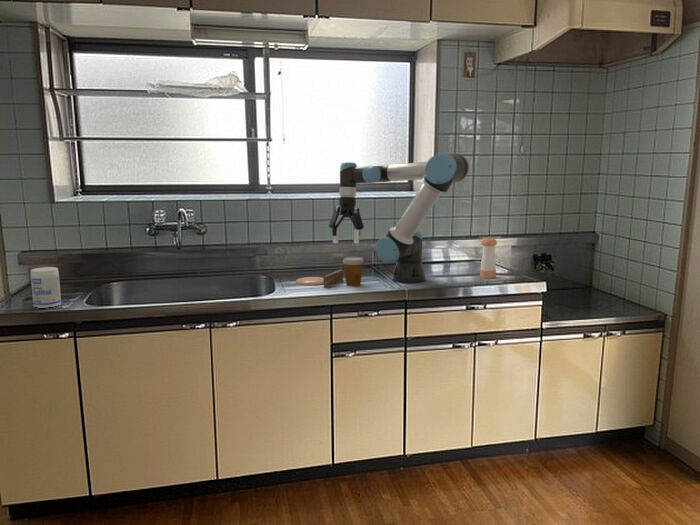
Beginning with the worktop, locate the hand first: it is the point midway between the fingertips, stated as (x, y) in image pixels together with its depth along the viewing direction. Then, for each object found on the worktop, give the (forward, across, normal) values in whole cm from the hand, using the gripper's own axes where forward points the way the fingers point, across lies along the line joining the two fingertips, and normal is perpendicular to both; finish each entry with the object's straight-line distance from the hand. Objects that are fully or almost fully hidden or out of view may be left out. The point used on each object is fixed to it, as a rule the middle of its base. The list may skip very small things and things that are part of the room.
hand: (346, 243), depth 253 cm
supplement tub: (+27, +109, -54) cm, 125 cm away
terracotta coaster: (+18, +11, -10) cm, 23 cm away
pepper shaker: (+14, -52, +43) cm, 69 cm away
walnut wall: (+18, +8, 0) cm, 20 cm away
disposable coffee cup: (+18, +3, +8) cm, 20 cm away
